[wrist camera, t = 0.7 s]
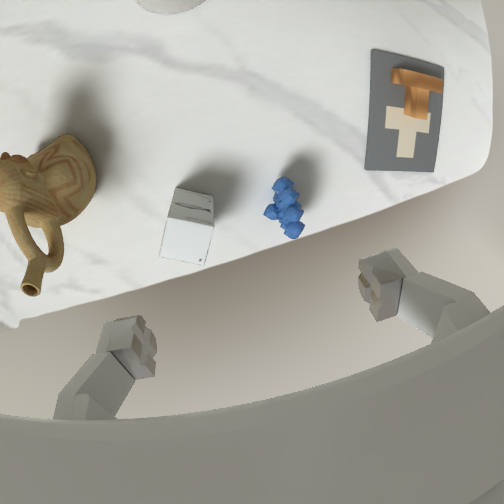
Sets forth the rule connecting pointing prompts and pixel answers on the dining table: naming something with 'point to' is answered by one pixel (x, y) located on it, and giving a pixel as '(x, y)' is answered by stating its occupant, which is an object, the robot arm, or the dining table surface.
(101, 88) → the dining table surface
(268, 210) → the blue lumpy cluster
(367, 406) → the robot arm
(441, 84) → the t block
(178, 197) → the supplement box
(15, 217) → the ceramic vessel
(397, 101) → the push board
